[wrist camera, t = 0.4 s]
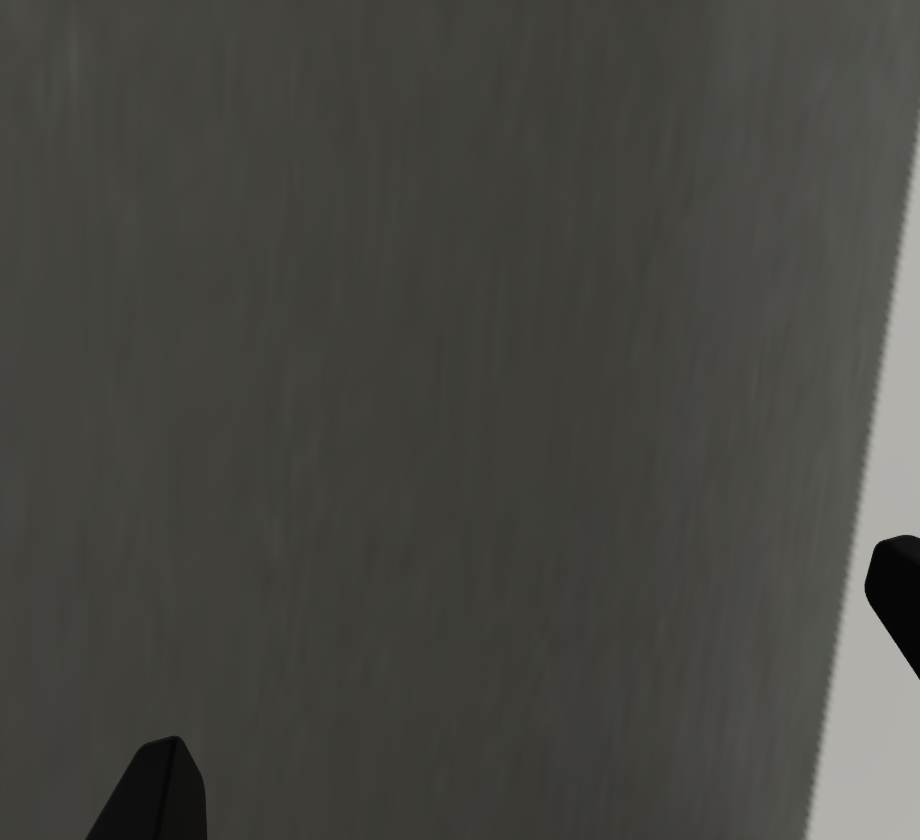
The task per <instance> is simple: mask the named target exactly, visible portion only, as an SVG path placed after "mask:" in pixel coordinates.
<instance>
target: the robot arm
mask: <svg viewBox="0 0 920 840" xmlns="http://www.w3.org/2000/svg"><path fill="white" fill-rule="evenodd" d="M865 593H866V597H867V599H868V601H869V603H870V605H871V607H872V608H873V610H874V611H875V612H876V614H877V616H878V617H879V619H880V620H881V622H882V623H883V625H884V626H885V628H886V629H887V631H888V632H889V634H890V635H891V637H892V638H893V640H894V641H895V643H896V644H897V646H898V647H899V649H900V650H901V652H902V653H903V655H904V657H905V658H906V659H907V661H908V663H909V664H910V666H911V667H912V668H913V670H914V672H915V673H916V674H917V676H918V678H919V679H920V538H918V537H915V536H911V535H901V536H897V537H894V538H890V539H886V540H883V541H880V542H879V543H878V544H877V545H876V546H875V548H874V551H873V555H872V558H871V562H870V566H869V569H868V573H867V577H866V580H865ZM85 840H207V821H206V798H205V788H204V783H203V779H202V776H201V773H200V771H199V770H198V768H197V766H196V764H195V762H194V760H193V758H192V756H191V754H190V752H189V751H188V749H187V747H186V745H185V743H184V741H183V740H182V739H181V738H180V737H178V736H170V737H167V738H163V739H160V740H156V741H152V742H149V743H146V744H144V745H143V746H142V747H140V748H139V750H138V751H137V752H136V754H135V755H134V757H133V759H132V761H131V762H130V764H129V766H128V767H127V769H126V771H125V772H124V774H123V776H122V778H121V779H120V781H119V783H118V784H117V786H116V788H115V789H114V791H113V793H112V795H111V796H110V798H109V800H108V801H107V803H106V805H105V806H104V808H103V810H102V812H101V813H100V815H99V817H98V818H97V820H96V822H95V823H94V825H93V827H92V829H91V830H90V832H89V834H88V835H87V837H86V839H85Z"/></svg>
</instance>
